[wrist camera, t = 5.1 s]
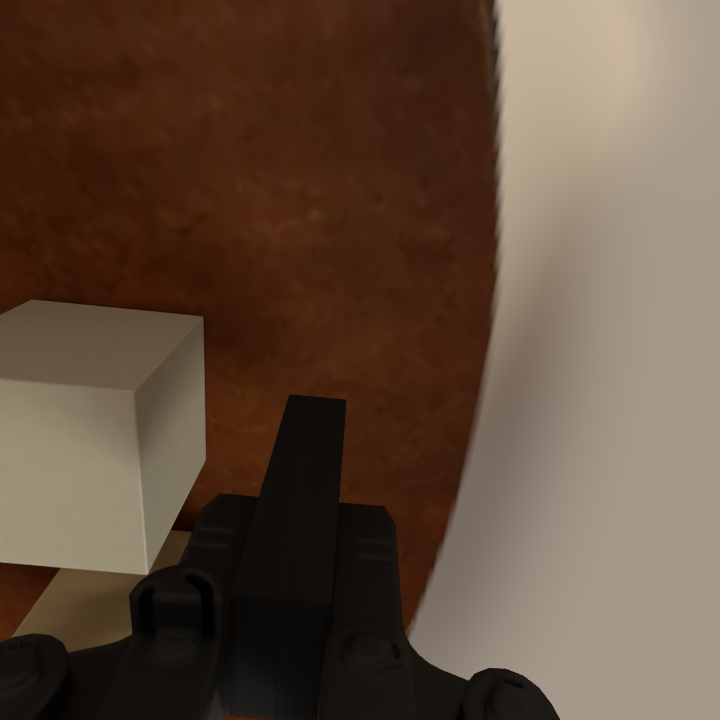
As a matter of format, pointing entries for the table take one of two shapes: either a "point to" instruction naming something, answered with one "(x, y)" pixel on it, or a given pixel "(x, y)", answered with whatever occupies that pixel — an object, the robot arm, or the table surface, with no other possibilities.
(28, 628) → the end block
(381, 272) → the table surface
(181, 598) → the robot arm
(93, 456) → the middle block
